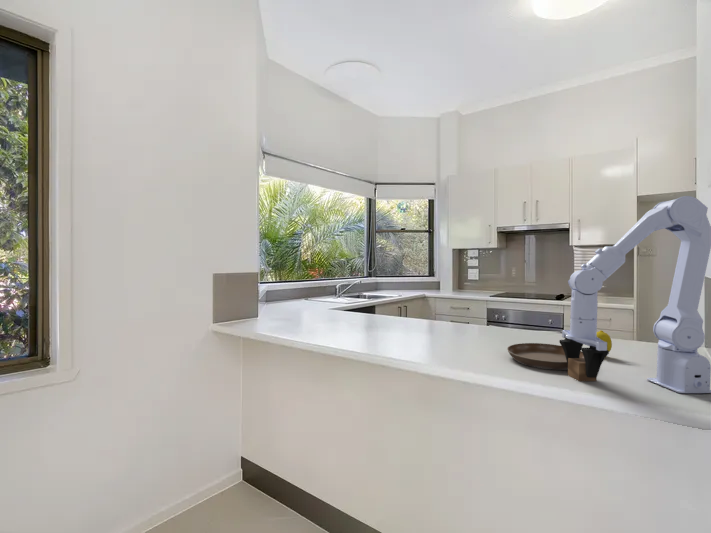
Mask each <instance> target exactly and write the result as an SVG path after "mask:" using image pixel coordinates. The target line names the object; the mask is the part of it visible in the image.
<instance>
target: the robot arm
mask: <svg viewBox="0 0 711 533" xmlns="http://www.w3.org/2000/svg"><path fill="white" fill-rule="evenodd" d="M707 213H708V207H707V205H705V204H704V203H703V202H702V201H700V200H699V199H698V198H696V197H695V196H691V195H684V196H679V197H678V198H674V199H672V200H671V199H670V200H664V201H660V202H658V203H657V204H655V206H653V207H652V208H651V209H650V210H648V211H646V212H645V214H643V216H642V217H640V219H638V220H637V222H635V223H634V225H632V226H631V228H629V230H628V231H627V232H625V234H623V235H622V236H621V238H619V239H618V241H617V242H616V243H615V244H613V245H612V246H611V245H609V246H608V245H606V246H604V247H603V248H597V249H596V250H595V251H594V253H595V255H594V256H593V257H591V259H589V260H588V261H587V262H586V263H582V264H581V265H580V268H581V269H579V270H576V271H574V272H573V273H572V274H571V275H570V277H569V280H567V283H568V286H569V288H570V289H571V299H570V316H569V317H570V318H569V322H570V323H569V324H570V327H569V329H562V331H561V335H562V336H561V337H562V338H563V339H559V341H558V342H559V343H560V344H559V345H560V346H562V348H563V350H564V353H565V356H566V360H567V364H568V358H579V356H580V351H582V353H583V355H584V359H585V366H586V375H587V377H589V378H597V377H598V375H599V371H600V370H601V366H602V364H603V362H604V360H605V359H606V357H607V356H608V355H609V354H610V352H609V351H608V350H607V342H604V341H602V340H601V339H599V338H598V337H597V332H598V304H599V303H598V294H599V292H598V291H601V289H602V288H603V285H604V282H605V281H606V280H608V278H609V277H611V276H612V275H613V274H614V273H615V272H616V271H617V270H619V269H620V268H621V266H623V265H624V264H625V263H626V255H627V254H628V253H629V252H630V251H632V250H633V249H634V248H635V247H636V246H638V245H639V244H640V243H642V242H643V241H644V240H645V239H646V238H647V237H648V236H651V234H653V233H654V232H656V231H659V230H663V229H665V230H667V231H669V232H671V233H672V234H673V235H674V236H675V237H677V239H679V240H680V245H679V250H678V256H677V260H676V265H675V270H674V275H673V279H672V283H671V287H670V288H671V289H670V294H669V296H668V297H669V298H668V303H667V305H666V306H665V307H664V308H663V309H662V310H661V311H660V315H659V317H658V320H656V321H655V322H654V324H653V328H652V331H653V332H652V333H653V334H654V336H655V338H656V339H657V340H658V342H657V351H656V355H657V356H656V357H657V358H656V359H657V360H656V377H647V378H646V380H647V381H649V382H651V383H655V384H656V385H659V386H661V387H664V388H666V389H668V390H671V391H673V392H676V393H678V394H711V363H710V361H709V359H708V358H707V357H706V356H704V355H702V354H700V353H699V352H698V349H699V348H701V347H702V346H703V344H704V343H705V339H706V338H705V332H704V329H703V324H704V319H703V318H702V316H701V314H700V313H699V310H698V309H699V304H700V299H701V295H702V290H703V286H704V281H705V278H706V272H707V268H708V263H709V260H710V259H709V258H710V253H711V224H710V221H709V218H708V215H707ZM584 345H585V346H588V347H583V346H584ZM597 379H598V378H597Z"/></svg>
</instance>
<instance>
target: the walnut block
mask: <svg viewBox="0 0 711 533" xmlns="http://www.w3.org/2000/svg"><path fill="white" fill-rule="evenodd" d="M568 375H569V376H568ZM567 376H568V377H570V378H571V379H573V380H575V379H576V380H575V381H577V380H578V382H597V379H598V378H589V377H587V375H586V366H585V359H584V358H568V370H567Z"/></svg>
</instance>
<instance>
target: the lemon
mask: <svg viewBox="0 0 711 533" xmlns="http://www.w3.org/2000/svg"><path fill="white" fill-rule="evenodd" d="M597 337H598V338H599V339H601V340H602V341H604V342H607V350H608V351H609V353H610V352H611V350H612V346H613V343H612V339H611V336H610V335H609V334H608V333H607V332H605V331H604V330H599V331H597Z"/></svg>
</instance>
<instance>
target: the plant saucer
mask: <svg viewBox="0 0 711 533" xmlns="http://www.w3.org/2000/svg"><path fill="white" fill-rule="evenodd" d="M506 350H507V352H508V353H509V354H508V355H510V356H511V357H512V359H513V360H515V362H518V363H520V364H522V365H524V364H525V365H524V366H528V367H532V368H536V367H537V369H543V370H551V369H552V370H553V371H568V370H567V369H568V364H567V360H566V356H565V353H564V350H563V348H562V346H561V345H560V344H559V345H557V344H554V343H553V344H552V343H543V342H542V343H540V342H525V343H523V342H522V343H514V344H511V345H509V346H508V347H507V348H506ZM579 358H584V355H583V353H582V350H581V351H580V356H579Z"/></svg>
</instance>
